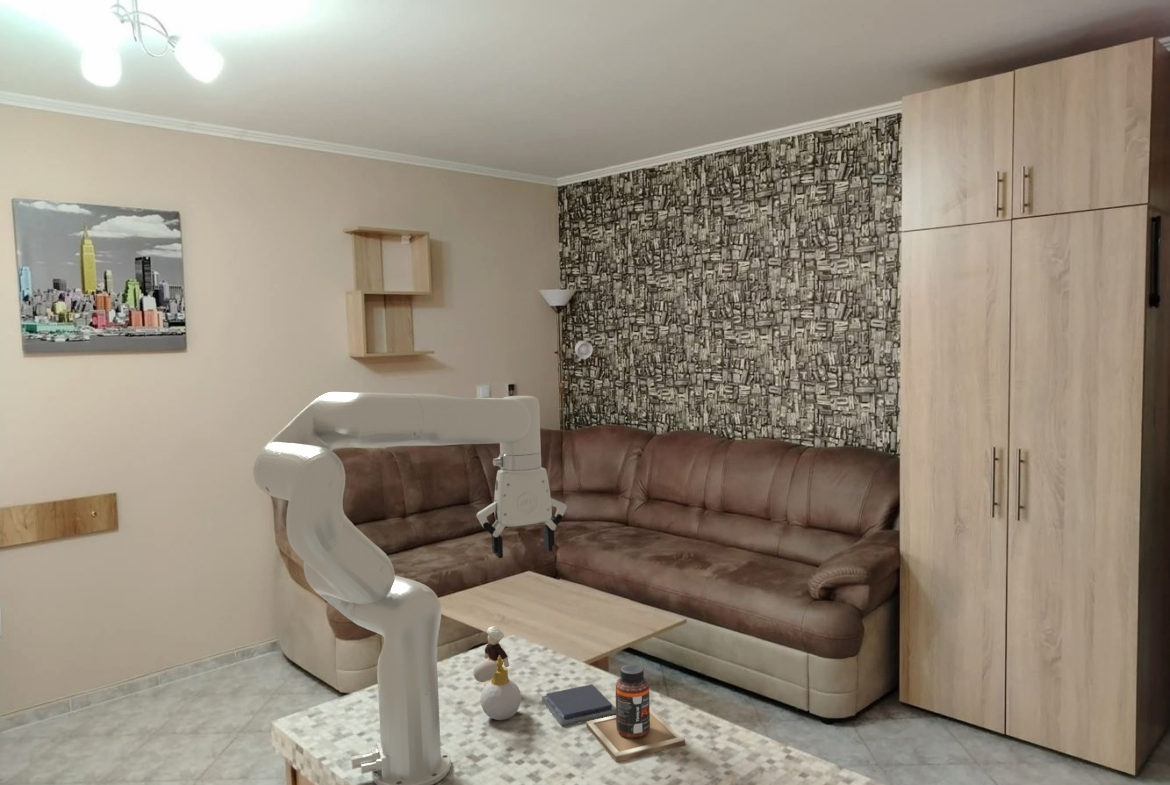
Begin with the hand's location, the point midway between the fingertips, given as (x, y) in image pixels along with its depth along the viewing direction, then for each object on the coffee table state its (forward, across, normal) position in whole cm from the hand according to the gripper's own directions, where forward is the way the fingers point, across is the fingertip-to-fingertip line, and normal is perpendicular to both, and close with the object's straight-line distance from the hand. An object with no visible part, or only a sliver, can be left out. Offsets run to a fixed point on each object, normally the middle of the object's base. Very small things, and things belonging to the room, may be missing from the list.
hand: (523, 553), depth 146 cm
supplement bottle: (+30, +14, -17) cm, 37 cm away
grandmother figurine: (+31, -3, +12) cm, 33 cm away
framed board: (+30, +14, -17) cm, 37 cm away
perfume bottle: (+31, -6, -1) cm, 31 cm away
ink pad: (+30, +9, -3) cm, 32 cm away
